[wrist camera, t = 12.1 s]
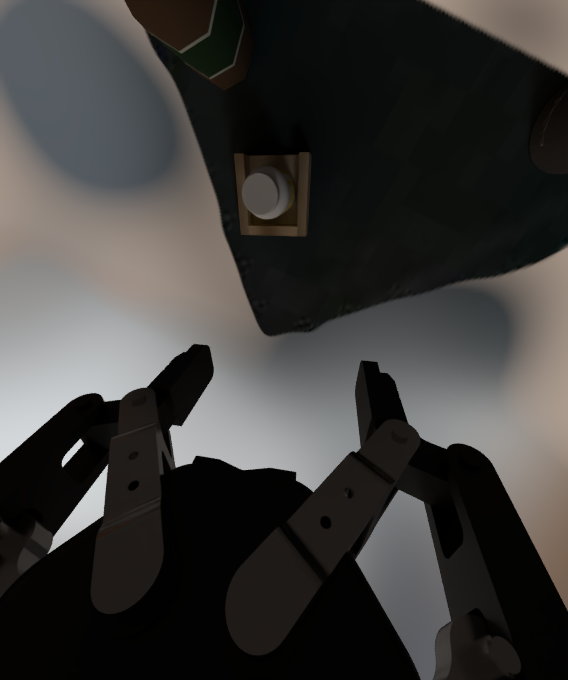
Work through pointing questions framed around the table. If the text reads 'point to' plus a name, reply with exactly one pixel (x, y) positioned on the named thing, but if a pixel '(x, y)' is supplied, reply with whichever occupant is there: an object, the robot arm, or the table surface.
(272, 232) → the u holder
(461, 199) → the table surface
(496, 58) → the table surface
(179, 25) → the beer bottle
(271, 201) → the supplement bottle
